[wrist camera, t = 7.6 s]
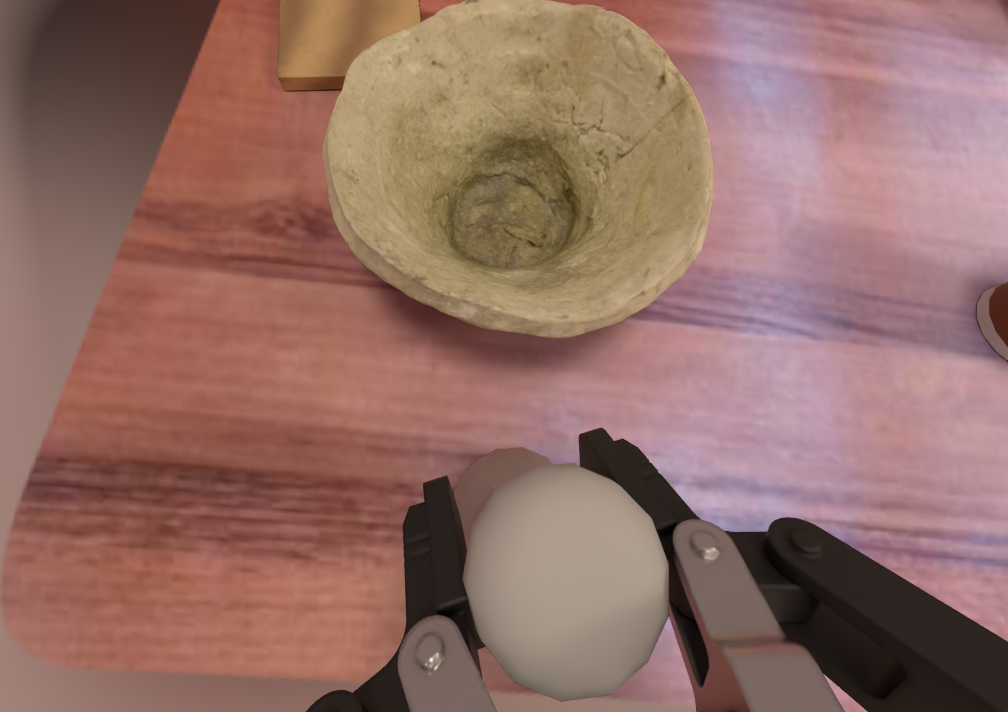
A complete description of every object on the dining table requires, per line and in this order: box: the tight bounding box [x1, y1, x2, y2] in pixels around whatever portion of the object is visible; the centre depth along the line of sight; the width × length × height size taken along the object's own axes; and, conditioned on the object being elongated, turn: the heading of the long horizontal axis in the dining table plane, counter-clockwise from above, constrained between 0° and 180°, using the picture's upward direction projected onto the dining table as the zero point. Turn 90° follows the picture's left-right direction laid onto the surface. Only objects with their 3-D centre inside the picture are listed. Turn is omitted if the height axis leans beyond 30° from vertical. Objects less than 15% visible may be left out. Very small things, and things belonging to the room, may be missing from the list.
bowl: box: [322, 0, 714, 339], centre depth 18 cm, size 14×18×15 cm
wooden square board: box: [278, 0, 421, 91], centre depth 27 cm, size 10×10×1 cm
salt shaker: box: [454, 447, 669, 702], centre depth 13 cm, size 6×6×13 cm
